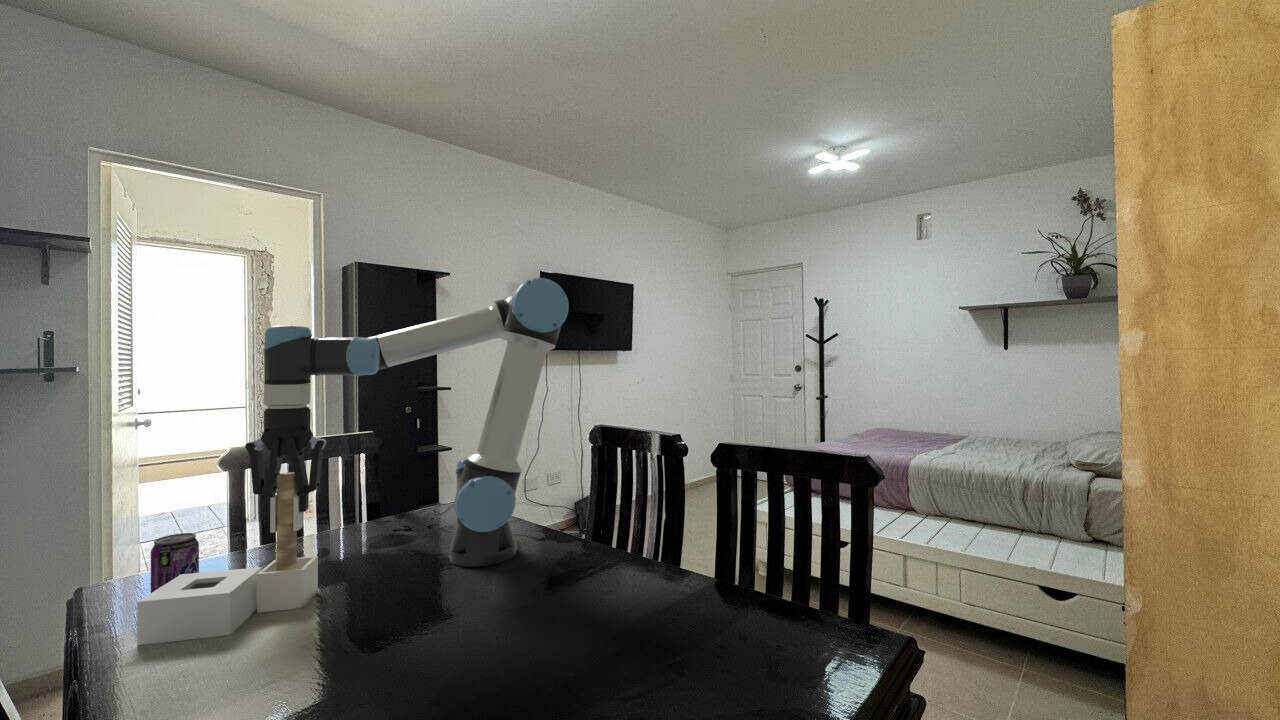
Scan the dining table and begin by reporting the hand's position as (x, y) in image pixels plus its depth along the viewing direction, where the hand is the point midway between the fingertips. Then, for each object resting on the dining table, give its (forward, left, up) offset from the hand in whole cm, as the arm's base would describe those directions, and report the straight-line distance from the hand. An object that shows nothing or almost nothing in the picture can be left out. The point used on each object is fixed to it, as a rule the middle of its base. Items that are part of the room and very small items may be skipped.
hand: (286, 529), depth 103 cm
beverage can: (+22, -7, -14) cm, 27 cm away
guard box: (+11, +6, -14) cm, 18 cm away
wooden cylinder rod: (0, 0, -7) cm, 7 cm away
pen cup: (0, 0, -14) cm, 14 cm away
